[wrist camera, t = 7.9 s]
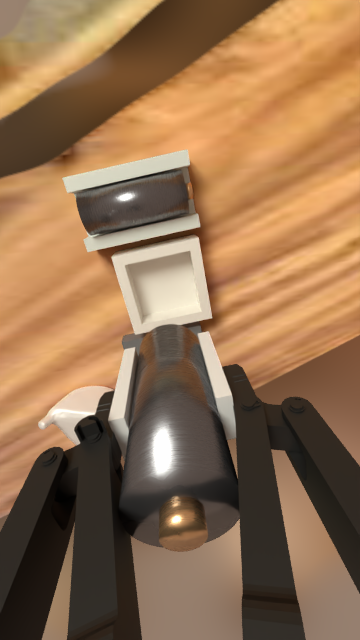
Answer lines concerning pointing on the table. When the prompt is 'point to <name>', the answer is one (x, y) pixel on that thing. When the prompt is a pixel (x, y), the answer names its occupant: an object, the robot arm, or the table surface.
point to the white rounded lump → (74, 410)
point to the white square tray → (163, 283)
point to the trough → (128, 174)
